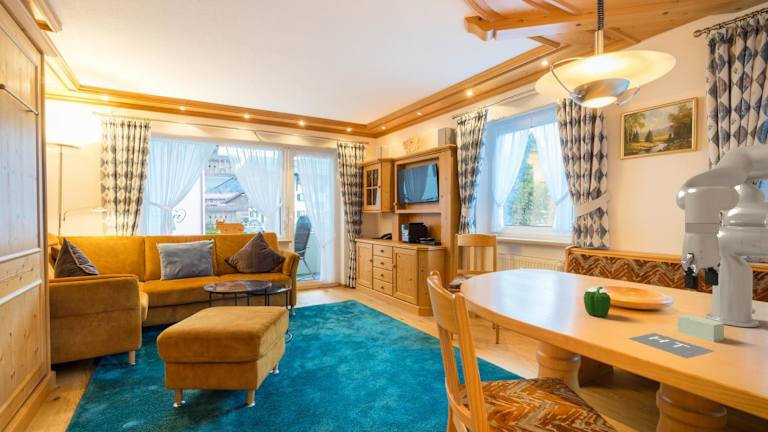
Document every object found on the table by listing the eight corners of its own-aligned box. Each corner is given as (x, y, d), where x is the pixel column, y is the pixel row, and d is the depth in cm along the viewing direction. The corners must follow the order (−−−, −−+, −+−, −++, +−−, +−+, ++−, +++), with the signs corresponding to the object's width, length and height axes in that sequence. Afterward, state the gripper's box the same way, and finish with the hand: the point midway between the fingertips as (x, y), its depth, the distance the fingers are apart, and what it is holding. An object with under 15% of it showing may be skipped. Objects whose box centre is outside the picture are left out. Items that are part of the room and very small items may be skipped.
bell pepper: (596, 319, 123) (596, 290, 122) (578, 312, 131) (579, 285, 131) (617, 317, 124) (617, 289, 124) (598, 311, 132) (599, 284, 132)
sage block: (687, 330, 112) (687, 314, 112) (723, 340, 103) (724, 323, 103) (677, 332, 110) (677, 316, 110) (713, 342, 102) (713, 325, 101)
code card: (654, 333, 109) (654, 332, 109) (715, 351, 95) (715, 351, 95) (627, 339, 105) (627, 338, 105) (686, 359, 91) (686, 358, 91)
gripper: (704, 226, 113) (704, 281, 113) (668, 230, 106) (668, 287, 107) (734, 228, 106) (734, 286, 106) (698, 231, 99) (698, 293, 100)
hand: (701, 286), depth 107 cm, fingers open, 9 cm apart
